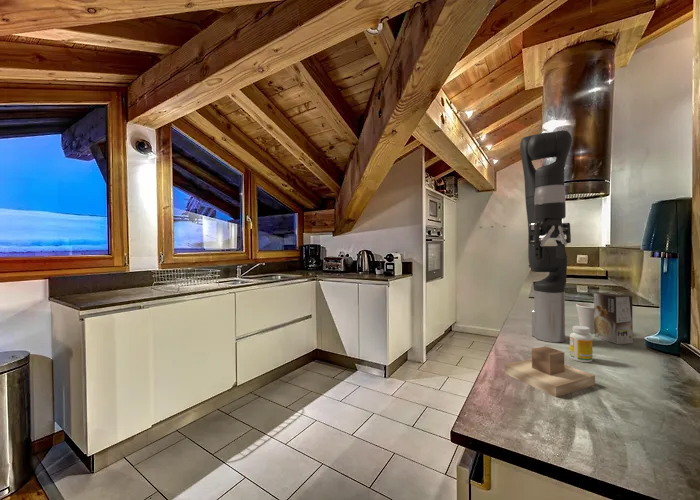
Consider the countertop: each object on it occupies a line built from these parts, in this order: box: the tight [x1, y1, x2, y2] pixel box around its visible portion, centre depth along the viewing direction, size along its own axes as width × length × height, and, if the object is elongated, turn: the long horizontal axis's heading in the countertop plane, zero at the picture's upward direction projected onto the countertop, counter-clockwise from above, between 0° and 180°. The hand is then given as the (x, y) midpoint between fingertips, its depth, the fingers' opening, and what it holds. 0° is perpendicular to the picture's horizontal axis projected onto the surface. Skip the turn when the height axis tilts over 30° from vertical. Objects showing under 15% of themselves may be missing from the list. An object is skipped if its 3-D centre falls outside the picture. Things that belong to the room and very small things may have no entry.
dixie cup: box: [575, 302, 595, 334], centre depth 119 cm, size 8×8×10 cm
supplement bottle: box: [569, 325, 593, 363], centre depth 92 cm, size 5×5×10 cm
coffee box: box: [593, 291, 634, 345], centre depth 108 cm, size 9×6×16 cm
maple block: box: [504, 357, 596, 398], centre depth 80 cm, size 14×14×3 cm
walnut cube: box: [531, 345, 565, 375], centre depth 79 cm, size 5×5×5 cm
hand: (550, 259), depth 89 cm, fingers open, 8 cm apart
